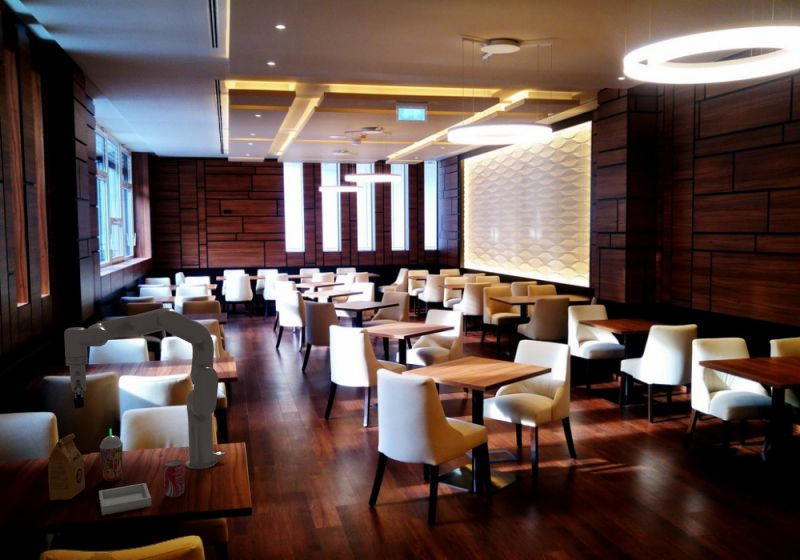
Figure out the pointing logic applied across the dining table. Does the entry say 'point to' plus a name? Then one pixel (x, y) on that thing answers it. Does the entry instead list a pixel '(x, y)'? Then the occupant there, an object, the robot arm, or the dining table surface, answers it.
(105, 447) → the smoothie
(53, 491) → the coffee package
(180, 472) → the soda can
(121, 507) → the tray
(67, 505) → the dining table surface
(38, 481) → the dining table surface
